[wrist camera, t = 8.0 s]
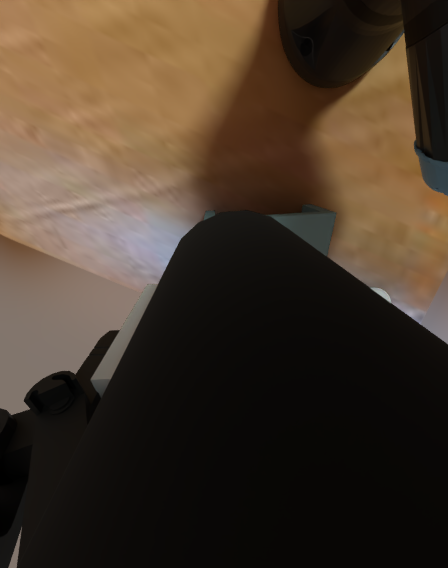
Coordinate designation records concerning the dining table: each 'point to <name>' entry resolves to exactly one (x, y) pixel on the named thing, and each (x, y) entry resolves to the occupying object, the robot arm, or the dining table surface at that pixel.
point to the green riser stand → (307, 225)
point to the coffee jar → (260, 422)
